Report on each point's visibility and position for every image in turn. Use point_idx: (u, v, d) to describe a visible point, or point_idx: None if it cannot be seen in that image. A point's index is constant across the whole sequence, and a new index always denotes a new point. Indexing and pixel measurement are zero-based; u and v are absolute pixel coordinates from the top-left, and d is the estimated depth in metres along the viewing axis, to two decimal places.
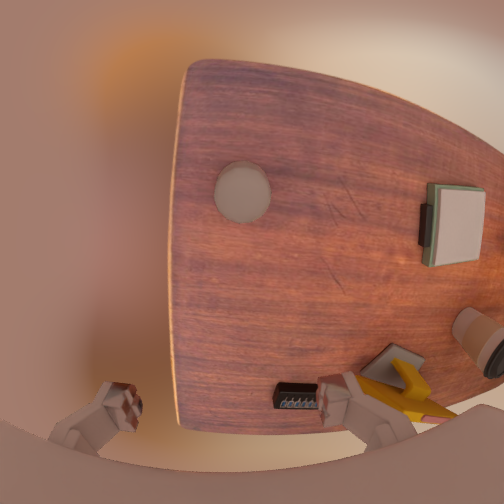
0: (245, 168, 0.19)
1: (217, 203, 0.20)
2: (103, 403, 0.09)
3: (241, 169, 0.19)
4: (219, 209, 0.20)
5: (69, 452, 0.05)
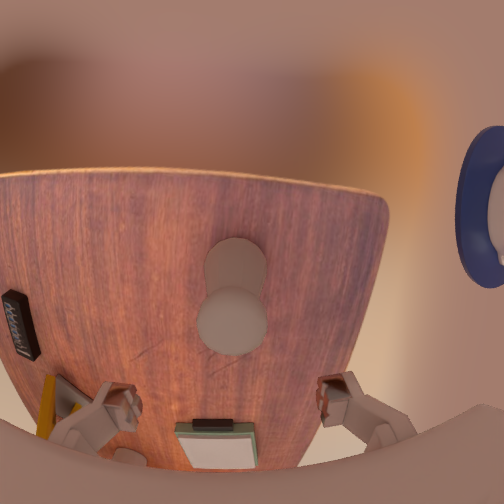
0: (266, 331, 0.16)
1: (221, 303, 0.15)
2: (103, 403, 0.09)
3: (265, 328, 0.16)
4: (213, 305, 0.15)
5: (69, 452, 0.05)
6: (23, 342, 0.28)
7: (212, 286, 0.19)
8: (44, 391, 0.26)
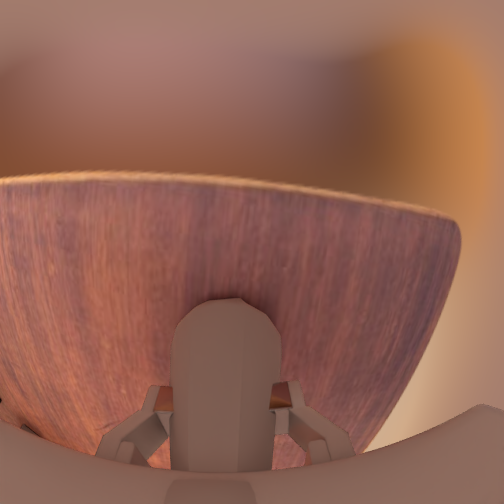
0: None
1: None
2: (155, 409, 0.09)
3: None
4: None
5: (69, 452, 0.05)
6: None
7: (177, 432, 0.07)
8: None
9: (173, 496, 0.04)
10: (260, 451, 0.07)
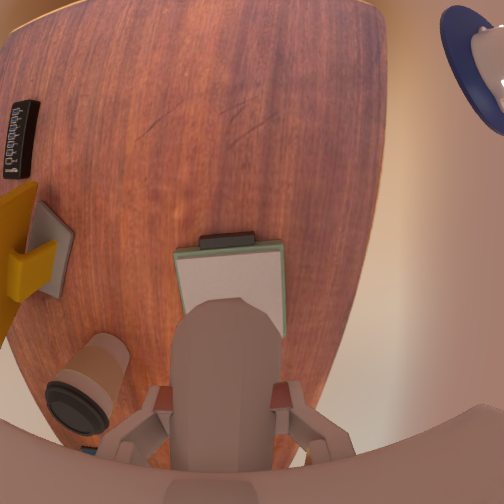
0: None
1: None
2: (155, 409, 0.09)
3: None
4: None
5: (69, 452, 0.05)
6: (16, 153, 0.24)
7: (177, 432, 0.07)
8: (19, 186, 0.21)
9: (173, 496, 0.04)
10: (260, 451, 0.07)
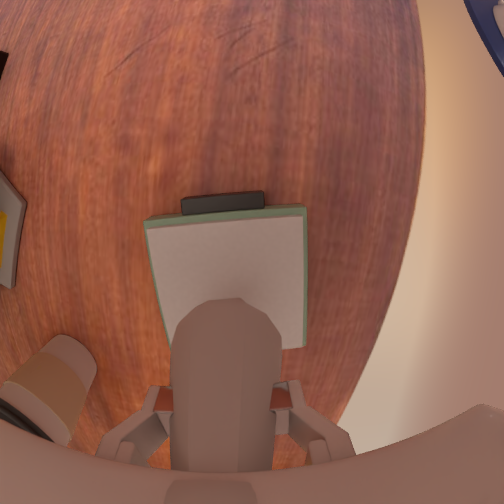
0: None
1: None
2: (155, 409, 0.09)
3: None
4: None
5: (69, 452, 0.05)
6: None
7: (177, 432, 0.07)
8: None
9: (173, 496, 0.04)
10: (260, 451, 0.07)
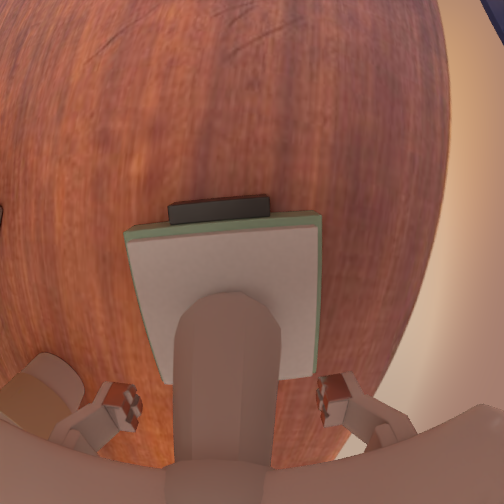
0: None
1: None
2: (103, 403, 0.09)
3: None
4: None
5: (69, 452, 0.05)
6: None
7: (180, 418, 0.08)
8: None
9: (177, 476, 0.05)
10: (261, 435, 0.07)
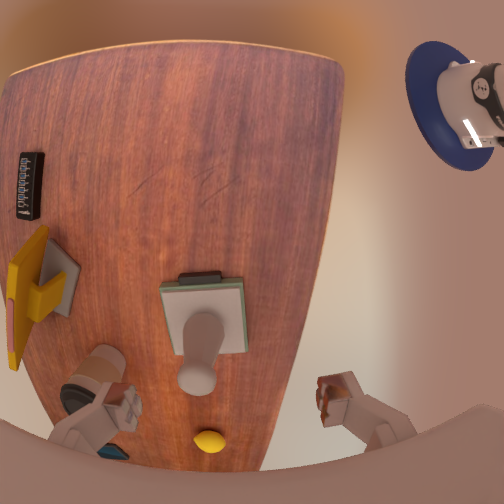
0: (214, 384, 0.27)
1: (189, 371, 0.26)
2: (103, 403, 0.09)
3: (213, 383, 0.27)
4: (185, 372, 0.26)
5: (69, 452, 0.05)
6: (27, 198, 0.31)
7: (186, 354, 0.30)
8: (35, 232, 0.29)
9: (185, 364, 0.27)
10: (209, 358, 0.29)
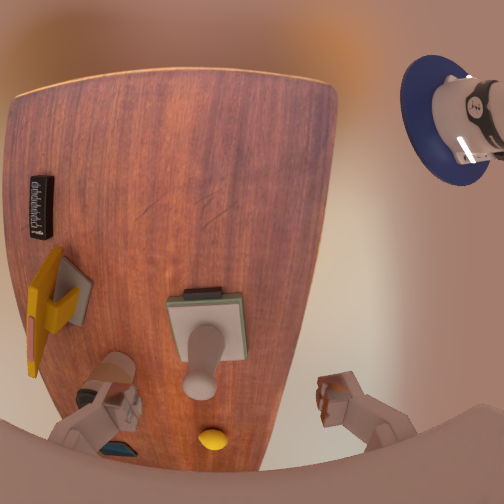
0: (215, 391, 0.30)
1: (192, 380, 0.30)
2: (103, 403, 0.09)
3: (214, 390, 0.30)
4: (189, 380, 0.30)
5: (69, 452, 0.05)
6: (40, 220, 0.36)
7: (190, 364, 0.34)
8: (50, 254, 0.33)
9: (190, 373, 0.31)
10: (210, 368, 0.33)
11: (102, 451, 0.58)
